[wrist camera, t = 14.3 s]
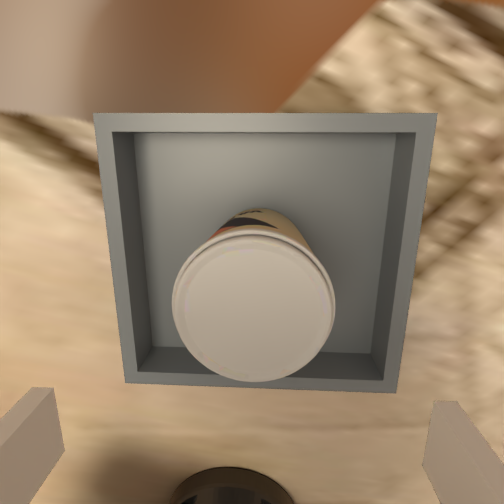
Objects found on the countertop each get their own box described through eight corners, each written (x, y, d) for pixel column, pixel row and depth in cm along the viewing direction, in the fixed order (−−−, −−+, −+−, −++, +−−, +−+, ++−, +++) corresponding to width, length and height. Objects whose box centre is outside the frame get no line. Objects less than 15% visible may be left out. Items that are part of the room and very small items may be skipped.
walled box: (378, 358, 35) (396, 393, 30) (144, 350, 36) (125, 383, 31) (409, 118, 28) (437, 113, 23) (121, 117, 29) (92, 113, 24)
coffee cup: (261, 174, 29) (255, 195, 18) (335, 254, 31) (373, 321, 19) (184, 248, 31) (133, 310, 20) (257, 319, 33) (249, 414, 22)
